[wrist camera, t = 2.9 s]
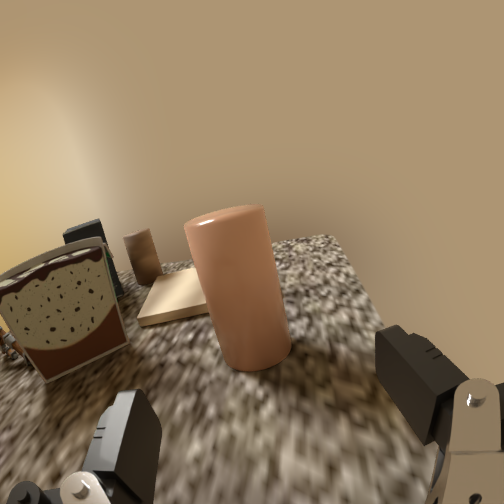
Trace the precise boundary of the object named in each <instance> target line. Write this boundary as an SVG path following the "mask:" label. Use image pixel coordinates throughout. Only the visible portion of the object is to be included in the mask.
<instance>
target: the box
mask: <svg viewBox="0 0 504 504" xmlns="http://www.w3.org/2000/svg"><path fill="white" fill-rule="evenodd" d="M92 237H101V238H102V241H103V243H106V244H107V241H106V238H105V234H104V231H103V228H102V224H101V222H100V220H99V219H95V220H93V221H90V222H86V223H84V224H81V225H78V226H75V227H72V228H69V229H67V231H66V232H65V233H63V238H64V241H65V245H66V244H69V243H73V242H76V241H79V240H83V239H87V238H92ZM107 246H108V244H107ZM108 248H109V247H108ZM106 258H107V263H108V267H109V271H110V275H111V279H112V283H113V287H114V291H115V294H116V298H117V297H120V296H123V294H124V292H123V289H122V287H121V284H120V281H119V278H118V275H117V272H116V270H115V267H114V263H113V260H112V258H109V257H106Z"/></svg>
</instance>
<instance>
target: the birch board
mask: <svg viewBox="0 0 504 504" xmlns="http://www.w3.org/2000/svg"><path fill="white" fill-rule="evenodd" d="M208 312H209V311H208V307H207V304H206V301H205V298H204V295H203V291H202V288H201V285H200V281H199V278H198V275H197V271H196V268H191V269H186V270H182V271H178V272H174V273H170V274H166V275H162V276H158V277H157V278H156V280H155V282H154V284H153V286H152V288H151V290H150V292H149V294H148V296H147V298H146V300H145V302H144V305H143V307H142V309H141V311H140V313H139V315H138V317H137V320H138V322H139V325H140V327H142V326H147V325H152V324H157V323H162V322H167V321H171V320H176V319H181V318H185V317H190V316H194V315H199V314H203V313H208Z"/></svg>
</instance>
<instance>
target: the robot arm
mask: <svg viewBox="0 0 504 504" xmlns="http://www.w3.org/2000/svg"><path fill="white" fill-rule="evenodd" d="M375 367H376V373H377V376H378V379H379V381H380V383H381V384H382V386H383V387H384V389H385V390H386V391H387V393H388V394H389V396H390V397H391V399H392V400H393V401H394V403H395V404H396V406H397V407H398V409H399V410H400V412H401V413H402V414H403V416H404V417H405V419H406V420H407V422H408V423H409V425H410V426H411V428H412V429H413V430H414V432H415V433H416V435H417V436H418V438H419V439H420V441H421V442H422V444H423V445H424V446H425V445H427V444H429V443H431V442H433V441H436V443H437V444H438V445H439V447H438V450H437V455H436V460H435V465H434V470H433V474H432V479H431V483H430V487H429V491H428V495H427V498H426V501H425V504H504V383H501V384H498V385H494V384H493V383H491V382H490V381H487V380H485V379H469V378H468V377H467V376H466V375H465V374H464V373H463V372H462V371H461V370H460V369H459V368H458V367H457V366H455V365H454V364H453V363H452V362H451V361H450V360H449V359H448V358H447V357H446V356H445V355H443V354H442V352H441V351H440V350H439V349H438V348H435V346H434V345H433V344H432V343H431V342H430V341H429V340H427V338H424V337H422V336H420V335H417V334H415V333H413V334H410V335H408V334H407V333H406V332H405V331H404V330H403V329H402V328H401V327H400V326H398V325H394V326H391V327H388V328H386V329H383V330H380V331H377V332H376V334H375ZM93 437H94V439H92V442H91V444H90V447H89V450H88V453H87V456H86V459H85V462H84V465H83V468H82V471H81V472H76V473H74V474H72V475H70V476H68V477H67V478H66V479H65V480H64V482H63V483H62V485H61V488H57V489H51V490H45V491H42V490H41V489H40V488H39V487H38V486H37V485H36V484H35V483H33V482H30V481H23V482H21V483H18V484H17V485H16V486H15V487H14V488H13V489H12V490H11V492H10V495H9V498H8V500H7V503H6V504H153V500H154V491H155V482H156V474H157V467H158V459H159V452H160V445H161V438H162V428H161V424H160V421H159V419H158V417H157V415H156V414H155V412H154V410H153V408H152V407H151V405H150V403H149V401H148V400H147V398H146V396H145V394H144V393H143V391H142V390H141V389H133V390H125V391H119V392H118V394H117V396H116V399H115V402H114V405H113V406H109V407H108V408H107V410H106V411H105V412H104V413H103V414H102V416H101V417H100V420H99V422H98V425H97V430H95V433H94V436H93Z"/></svg>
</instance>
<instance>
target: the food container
mask: <svg viewBox="0 0 504 504" xmlns="http://www.w3.org/2000/svg"><path fill="white" fill-rule="evenodd" d="M106 257H109V258H113V255H112V253H111V252H110V250H109V248H108V246H107V244H106V243H103V241H102V238H101V237H92V238H87V239H83V240H79V241H76V242H73V243H69V244H66V245H64V246H61V247H58V248H55V249H53V250H50V251H48V252H45V253H43V254H40V255H38V256H36V257H33V258H31V259H29V260H27V261H25V262H23V263H21V264H19V265H17V266H15V267H13V268H11V269H10V270H8V271H6V272H4V273H2V274H1V275H0V314H1V316H2V317H3V319H4V321H5V323H6V324H7V326H8V328H9V329H10V331H11V333H12V334H13V336H14V338H15V339H16V341H17V342H18V344H19V346H20V347H21V349H22V350H23V352H24V353H25V355H26V356H27V358H28V359H29V361H30V362H31V364H32V365H33V366H34V368H35V369H36V371H37V372H38V373H39V375H40V376H41V378H42V379H43V380H44V382H45V383H46V384H47V383H49V382H51V381H53V380H55V379H57V378H60V377H62V376H64V375H66V374H68V373H70V372H72V371H74V370H76V369H78V368H81V367H83V366H85V365H87V364H89V363H91V362H93V361H95V360H97V359H99V358H101V357H103V356H105V355H107V354H109V353H112V352H114V351H116V350H118V349H120V348H122V347H124V346H126V345H128V344H130V341H129V338H128V335H127V332H126V329H125V326H124V322H123V319H122V316H121V312H120V309H119V305H118V302H117V298H116V294H115V291H114V287H113V283H112V279H111V275H110V271H109V267H108V263H107V258H106Z"/></svg>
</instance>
